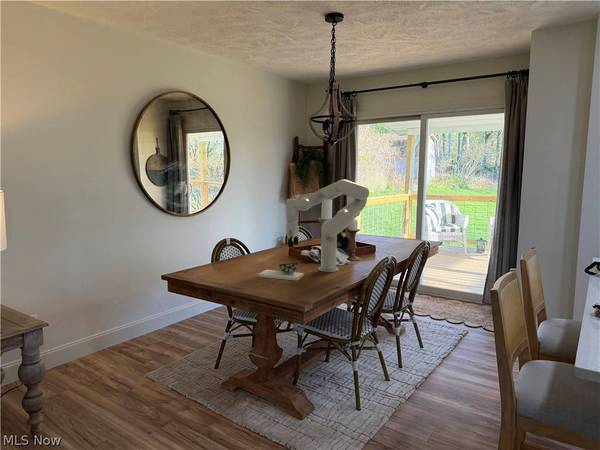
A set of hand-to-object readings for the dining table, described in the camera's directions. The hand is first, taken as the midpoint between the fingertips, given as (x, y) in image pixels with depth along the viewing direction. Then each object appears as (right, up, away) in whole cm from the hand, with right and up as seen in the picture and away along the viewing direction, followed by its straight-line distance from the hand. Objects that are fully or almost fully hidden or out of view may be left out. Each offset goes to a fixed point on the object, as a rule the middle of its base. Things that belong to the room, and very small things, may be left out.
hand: (293, 245), depth 255 cm
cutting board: (-7, -17, -16) cm, 24 cm away
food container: (-3, -14, -8) cm, 16 cm away
